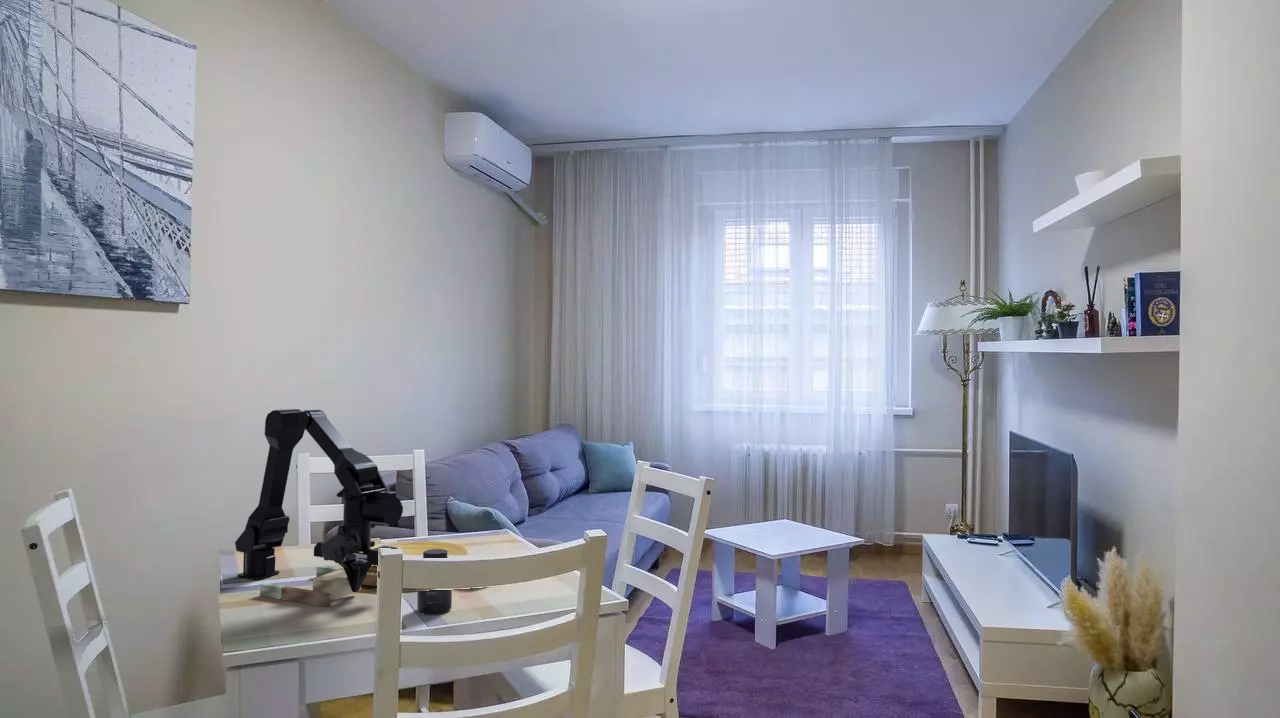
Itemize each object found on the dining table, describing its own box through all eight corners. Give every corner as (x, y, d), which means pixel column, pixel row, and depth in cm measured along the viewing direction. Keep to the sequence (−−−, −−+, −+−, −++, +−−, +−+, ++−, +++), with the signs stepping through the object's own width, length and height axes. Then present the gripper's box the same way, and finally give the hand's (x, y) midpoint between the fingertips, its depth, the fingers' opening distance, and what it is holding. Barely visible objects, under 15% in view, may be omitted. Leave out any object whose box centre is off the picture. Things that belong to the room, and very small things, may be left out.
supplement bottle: (458, 607, 158) (459, 549, 158) (439, 617, 152) (440, 556, 152) (429, 603, 160) (431, 546, 160) (409, 613, 154) (411, 553, 154)
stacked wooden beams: (259, 595, 163) (259, 584, 163) (320, 576, 179) (320, 565, 179) (325, 607, 156) (326, 594, 156) (382, 585, 172) (382, 574, 172)
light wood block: (312, 597, 164) (313, 578, 164) (339, 587, 171) (340, 569, 171) (334, 601, 161) (335, 582, 161) (361, 591, 169) (361, 572, 169)
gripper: (294, 521, 160) (292, 596, 160) (366, 531, 154) (364, 608, 154) (333, 512, 171) (331, 582, 171) (402, 521, 164) (400, 593, 164)
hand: (355, 591), depth 164 cm, fingers closed
